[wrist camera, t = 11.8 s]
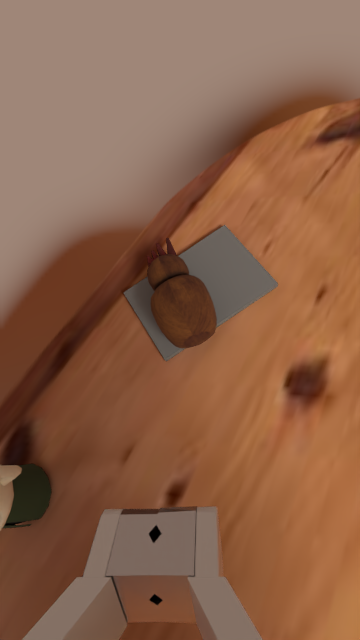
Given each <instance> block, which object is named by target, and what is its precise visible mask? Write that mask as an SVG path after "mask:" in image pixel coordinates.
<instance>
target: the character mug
mask: <svg viewBox="0 0 360 640" xmlns="http://www.w3.org/2000/svg"><path fill="white" fill-rule="evenodd" d="M50 496H51V487H50V483H49V479H48V477H47V475H46V474H45V472H44V471H43V469H42V468H40V467H38V466H36V465H34V464H26V465H19V466H18V465H4V466H2V465H0V531H1V529H2V528H14V527H24V526H30V525H31V524H28V525H15V524H18V523H22V522H25V521H30V520H37V519H40V518H41V517H42V516H43V514H44V512H45V511H46V509H47V507H48V506H49V501H50Z"/></svg>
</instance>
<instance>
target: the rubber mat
mask: <svg viewBox="0 0 360 640" xmlns="http://www.w3.org/2000/svg"><path fill="white" fill-rule="evenodd" d="M179 257H180V258H182V259H183V260H184V262H185V264H186V265H187V267H188V270H189V275H192V276H195V277H197V278H199V279H200V280H201V281H202V282H203V283H204V284H205V286H206V288H207V290H208V292H209V294H210V296H211V299H212V301H213V304H214V308H215V312H216V317H217V326H216V328H217V327H218V326H219V325H221V324H222V323H224V322H225V321H227V320H228V319H230V318H231V317H233V316H234V315H236V314H237V313H239V312H240V311H242V310H243V309H245V308H246V307H248V306H249V305H251V304H252V303H254V302H255V301H257V300H258V299H260V298H261V297H262V296H264V295H265V294H267V293H268V292H270V291H271V290H273V289H274V288H276V287H277V286H278V283H277V282H276V281H275V280H274V279H273V278H272V276H271V275H270V274H269V273H268V272H267V271H266V270H265V269H264V268H263V267H262V265H261V264H260V263H259V262H258V261H257V260H256V259H255V258H254V257H253V255H252V254H251V253H250V252H249V251H248V250H247V249H246V248H245V247H244V246H243V244H242V243H241V242H240V241H239V240H238V239H237V238H236V237H235V236H234V235H233V233H232V232H231V231H230V230H229V229H228V228H227V227H226V226H225V225H224V226H222V227H221V228H219V229H218V230H216V231H215V232H213V233H212V234H210V235H209V236H207V237H206V238H204V239H203V240H201V241H200V242H198V243H197V244H195V245H194V246H192V247H191V248H189V249H188V250H186V251H185V252H183V253H182V254H180V255H179ZM153 293H154V290H153V289H152V287H151V286H150V284H149V282H148V277H146V278H145V279H143V280H142V281H140V282H139V283H137V284H136V285H134V286H133V287H131V288H130V289H128V290H127V291H125V292H124V294H125V296H126V298H127V299H128V301H129V303H130V304H131V306H132V307H133V309H134V311H135V312H136V314H137V316H138V317H139V319H140V320H141V322H142V324H143V325H144V327H145V329H146V330H147V332H148V334H149V335H150V337H151V338H152V340H153V342H154V343H155V345H156V347H157V348H158V350H159V351H160V353H161V355H162V356H163V358H164V360H165V361H168V360H169V359H171V358H172V357H174V356H175V355H176V354H178V353H179V352H181V351H182V350H184V349H185V348H178V347H176V346H174V345H173V344H172V343H171V342H170V341H169V340H168V339H167V338H166V337H165V335H164V334H163V333H162V331H161V330H160V328H159V326H158V325H157V323H156V321H155V319H154V316H153V314H152V311H151V305H150V303H151V297H152V295H153Z"/></svg>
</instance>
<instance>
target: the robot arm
mask: <svg viewBox="0 0 360 640" xmlns="http://www.w3.org/2000/svg"><path fill="white" fill-rule="evenodd" d="M131 622H176V623H197V626H198V629H199V631H200V633H201V636H202V638H203V640H263V639H262V637H261V636H260V634H259V632H258V631H257V629H256V627H255V626H254V624H253V622H252V621H251V619H250V617H249V616H248V614H247V612H246V611H245V609H244V607H243V606H242V604H241V602H240V600H239V599H238V597H237V595H236V594H235V592H234V590H233V589H232V587H231V585H230V584H229V582H228V580H227V579H226V577H223V557H222V546H221V535H220V526H219V517H218V509H217V506H212V507H197V506H196V507H173V508H160V509H105V510H104V512H103V513H102V515H101V517H100V520H99V524H98V527H97V530H96V534H95V537H94V540H93V544H92V547H91V550H90V554H89V557H88V560H87V564H86V567H85V570H84V574H83V577H76V579H75V580H74V581H73V582H72V583H71V584H70V585H69V587H68V588H67V589H66V590H65V591H64V592H63V593H62V595H61V596H60V597H59V598H58V599H57V600H56V601H55V603H54V604H53V605H52V606H51V607H50V608H49V609H48V611H47V612H46V613H45V614H44V615H43V616H42V617H41V619H40V620H39V621H38V622H37V623H36V624H35V625H34V627H33V628H32V629H31V630H30V631H29V632H28V633H27V635H26V636H25V637H24V638H23V639H22V640H119V639H120V637H121V635H122V634H123V632H124V630H125V629H126V627H127V623H131Z"/></svg>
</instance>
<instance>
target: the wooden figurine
mask: <svg viewBox="0 0 360 640" xmlns="http://www.w3.org/2000/svg"><path fill="white" fill-rule="evenodd" d="M166 243H167V253H168V254H166V253H165V252H164V250H163V249H162V248H161V246H160V245H159V244H158V243H156V246H157V250H158V254H159V256H158V255H157V254H156V253H155V252H154V251H151V252H152V257H153V259H152V258H151V257H149V256H147V260H148V266H149V268H148V273H147V276H148V282H149V284H150V286H151V287H152V289H153V290H154V293H153V295H152V297H151V303H150V305H151V311H152V314H153V316H154V319H155V321H156V323H157V325H158V326H159V328H160V330H161V331H162V333H163V334H164V335H165V337H166V338H167V339H168V340H169V341H170V342H171V343H172V344H173V345H174V346H176V347H178V348H189V347H193V346H196V345H199V344H201V343H203V342H204V341H206V340H207V339H208V338H210V337H211V336H212V335H213V334H214V332H215V330H216V326H217V317H216V312H215V308H214V304H213V301H212V299H211V296H210V294H209V292H208V290H207V288H206V286H205V284H204V283H203V282H202V281H201V280H200V279H199V278H197V277H195V276H192V275H189V270H188V267H187V265H186V264H185V262H184V260H183V259H182V258H180V257H179V256H177V255H176V253H175V251H174V249H173V247H172V244H171V242H170V240H169V238H166Z"/></svg>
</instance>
